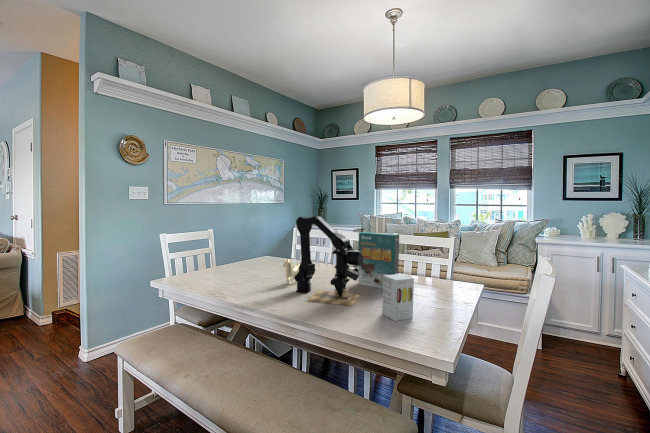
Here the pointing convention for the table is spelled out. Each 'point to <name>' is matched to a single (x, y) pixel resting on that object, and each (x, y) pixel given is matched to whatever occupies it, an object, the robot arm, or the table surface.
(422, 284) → the table surface
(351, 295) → the board
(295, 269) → the unicorn
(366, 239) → the cake mix box
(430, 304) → the table surface
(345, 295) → the block
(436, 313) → the table surface
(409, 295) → the supplement box
